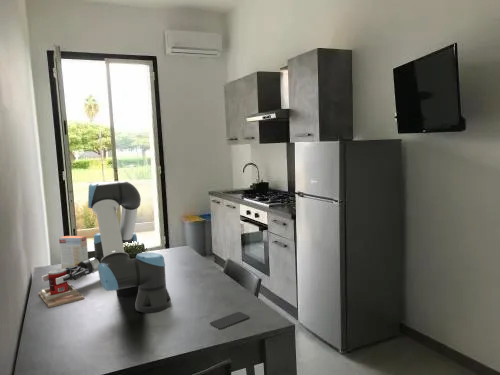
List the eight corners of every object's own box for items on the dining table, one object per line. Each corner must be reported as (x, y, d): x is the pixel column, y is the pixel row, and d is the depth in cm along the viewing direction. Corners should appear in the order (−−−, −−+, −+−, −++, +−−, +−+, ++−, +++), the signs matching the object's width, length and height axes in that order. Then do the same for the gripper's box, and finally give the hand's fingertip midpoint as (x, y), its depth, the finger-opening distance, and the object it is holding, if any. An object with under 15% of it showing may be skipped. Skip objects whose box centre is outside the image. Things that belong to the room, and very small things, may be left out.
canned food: (71, 289, 194) (69, 267, 193) (62, 295, 186) (59, 273, 185) (56, 289, 195) (54, 268, 194) (46, 296, 187) (44, 273, 186)
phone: (208, 322, 153) (239, 311, 162) (208, 324, 153) (239, 313, 162) (219, 328, 147) (250, 316, 157) (219, 331, 147) (250, 318, 157)
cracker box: (89, 271, 227) (87, 235, 225) (83, 274, 222) (80, 238, 220) (68, 270, 231) (65, 235, 229) (61, 273, 225) (58, 237, 223)
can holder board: (84, 298, 184) (83, 293, 184) (48, 307, 175) (48, 302, 175) (71, 287, 201) (71, 282, 201) (38, 294, 192) (38, 289, 192)
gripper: (104, 276, 201) (66, 291, 181) (74, 271, 211) (35, 285, 191) (103, 261, 200) (64, 275, 180) (73, 257, 210) (33, 270, 190)
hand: (49, 280), depth 186 cm, fingers open, 9 cm apart
